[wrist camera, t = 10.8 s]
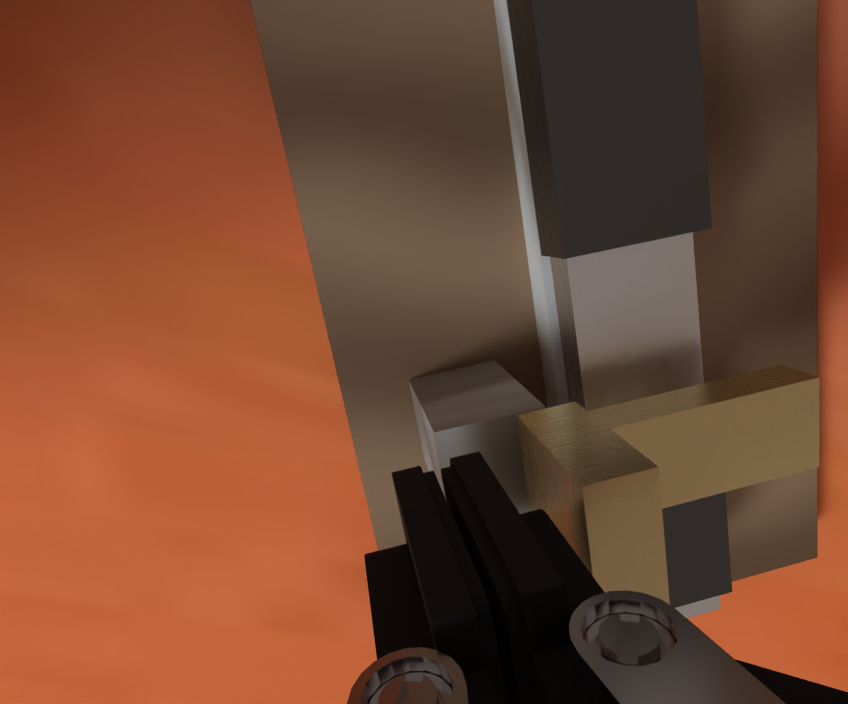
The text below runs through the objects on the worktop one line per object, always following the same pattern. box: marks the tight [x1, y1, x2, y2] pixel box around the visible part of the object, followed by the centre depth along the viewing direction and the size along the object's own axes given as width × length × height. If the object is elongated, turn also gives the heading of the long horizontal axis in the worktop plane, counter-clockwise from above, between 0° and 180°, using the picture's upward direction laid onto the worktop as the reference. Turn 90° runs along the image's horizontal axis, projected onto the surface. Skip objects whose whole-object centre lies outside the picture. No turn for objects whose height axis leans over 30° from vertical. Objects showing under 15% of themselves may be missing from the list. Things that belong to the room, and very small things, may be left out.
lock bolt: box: [517, 364, 820, 605], centre depth 11 cm, size 6×3×4 cm, turn 101°
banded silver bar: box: [507, 0, 732, 618], centre depth 13 cm, size 26×4×1 cm, turn 10°
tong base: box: [250, 0, 818, 582], centre depth 13 cm, size 31×14×6 cm, turn 10°
